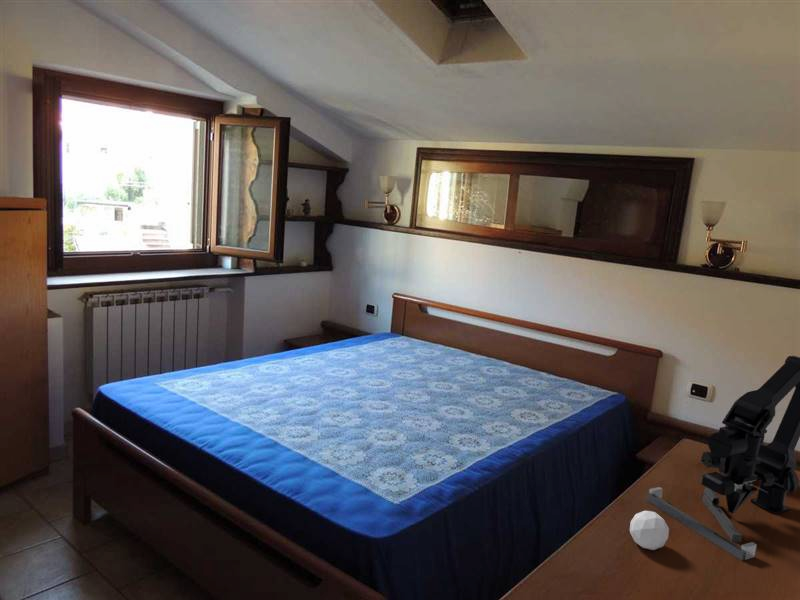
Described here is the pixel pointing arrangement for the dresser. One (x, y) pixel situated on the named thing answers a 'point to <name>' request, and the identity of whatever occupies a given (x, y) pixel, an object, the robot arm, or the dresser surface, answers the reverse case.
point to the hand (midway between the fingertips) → (731, 512)
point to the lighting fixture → (720, 515)
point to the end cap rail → (700, 527)
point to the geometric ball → (649, 530)
